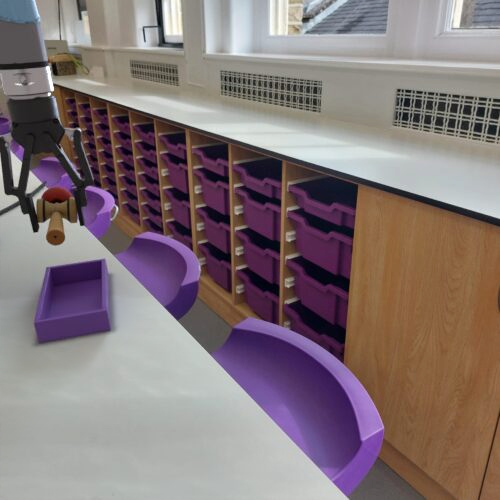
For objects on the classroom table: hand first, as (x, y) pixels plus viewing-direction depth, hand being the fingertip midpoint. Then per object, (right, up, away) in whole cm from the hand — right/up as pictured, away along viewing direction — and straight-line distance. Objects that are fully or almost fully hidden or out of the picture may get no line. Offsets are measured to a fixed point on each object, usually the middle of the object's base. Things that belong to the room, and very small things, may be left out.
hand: (59, 226), depth 89 cm
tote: (+2, -15, +3) cm, 16 cm away
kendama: (0, 0, 0) cm, 1 cm away
